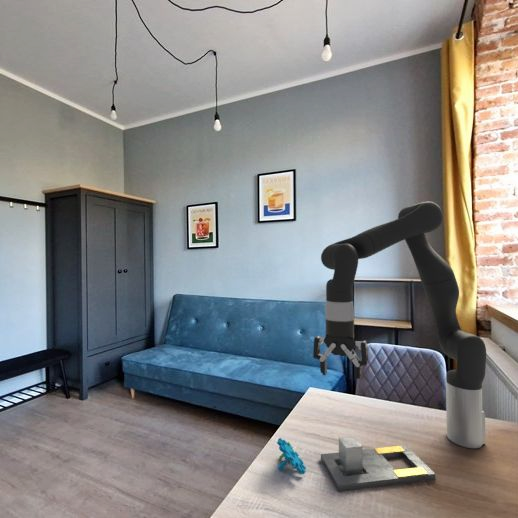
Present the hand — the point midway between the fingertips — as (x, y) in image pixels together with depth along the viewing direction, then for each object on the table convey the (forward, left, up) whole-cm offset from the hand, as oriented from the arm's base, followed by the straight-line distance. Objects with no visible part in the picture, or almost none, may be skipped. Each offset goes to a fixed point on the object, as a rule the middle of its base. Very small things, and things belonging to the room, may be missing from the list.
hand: (340, 377), depth 83 cm
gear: (+14, -1, -24) cm, 28 cm away
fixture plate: (-8, +3, -24) cm, 26 cm away
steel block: (-1, +3, -24) cm, 24 cm away
